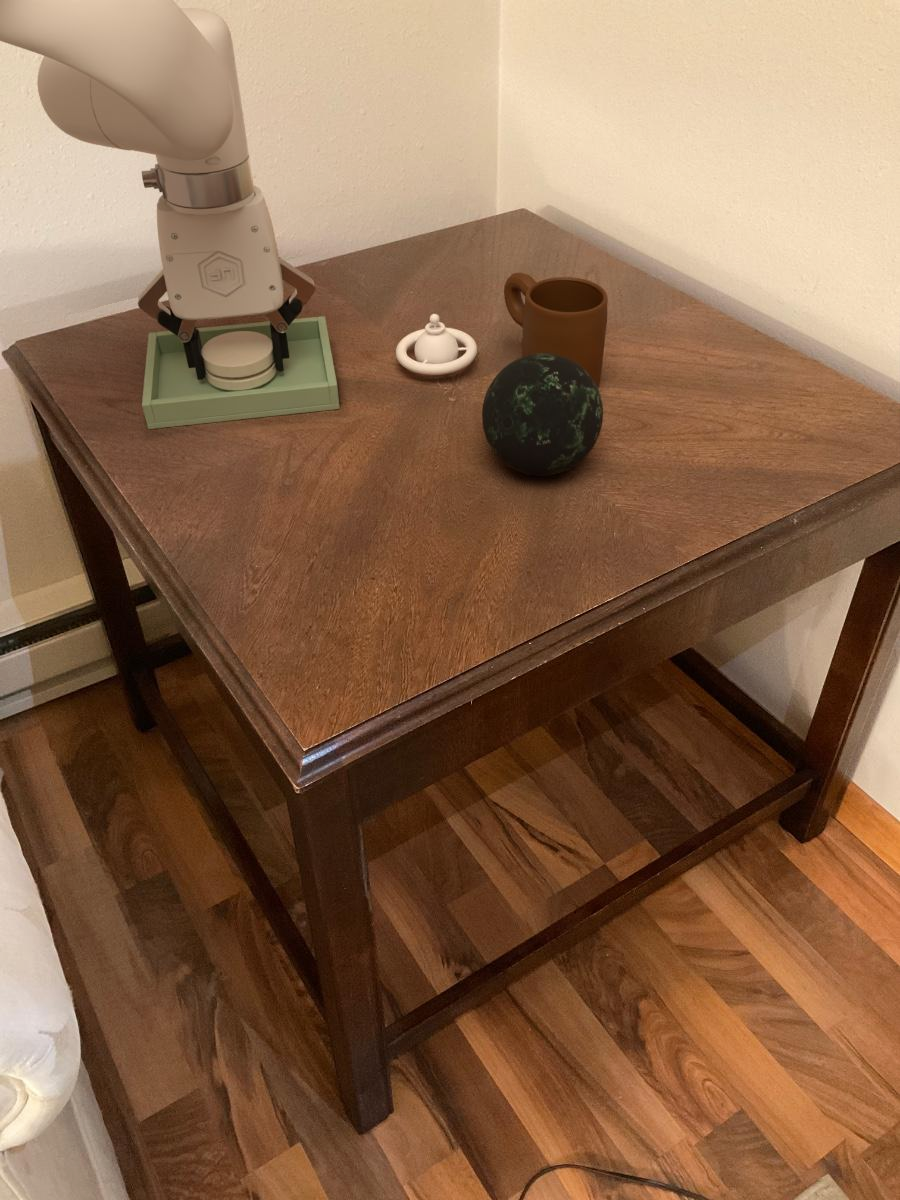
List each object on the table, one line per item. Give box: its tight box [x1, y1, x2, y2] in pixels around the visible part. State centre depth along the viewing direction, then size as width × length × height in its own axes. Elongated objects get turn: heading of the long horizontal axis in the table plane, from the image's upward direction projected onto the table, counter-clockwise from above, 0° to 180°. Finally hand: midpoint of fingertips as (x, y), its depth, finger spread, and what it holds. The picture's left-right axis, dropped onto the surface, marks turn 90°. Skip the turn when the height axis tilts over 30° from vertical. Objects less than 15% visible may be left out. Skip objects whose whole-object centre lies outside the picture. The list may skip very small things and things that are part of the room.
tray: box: [141, 315, 341, 430], centre depth 95 cm, size 18×14×3 cm
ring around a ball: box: [395, 313, 478, 376], centre depth 96 cm, size 8×6×8 cm
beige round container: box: [201, 331, 276, 391], centre depth 95 cm, size 7×7×3 cm
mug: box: [503, 272, 609, 389], centre depth 93 cm, size 12×8×9 cm, turn 38°
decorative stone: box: [481, 353, 604, 477], centre depth 82 cm, size 10×10×10 cm
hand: (240, 367), depth 95 cm, fingers closed on beige round container, 6 cm apart
